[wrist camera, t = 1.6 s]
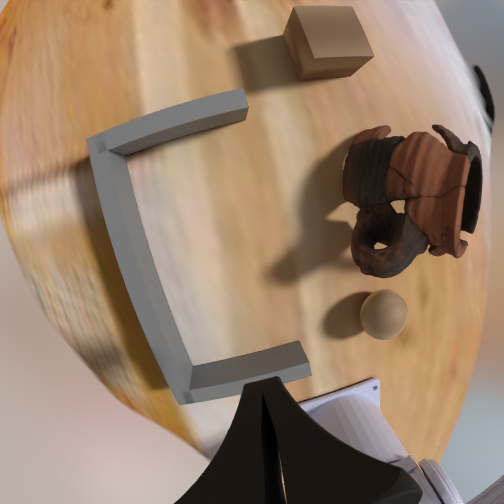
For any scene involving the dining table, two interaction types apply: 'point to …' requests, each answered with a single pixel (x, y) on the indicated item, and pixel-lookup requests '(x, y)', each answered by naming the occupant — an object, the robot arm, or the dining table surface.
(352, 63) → the walnut block
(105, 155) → the corral
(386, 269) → the pottery mug
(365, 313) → the cork ball
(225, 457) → the robot arm
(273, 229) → the dining table surface
